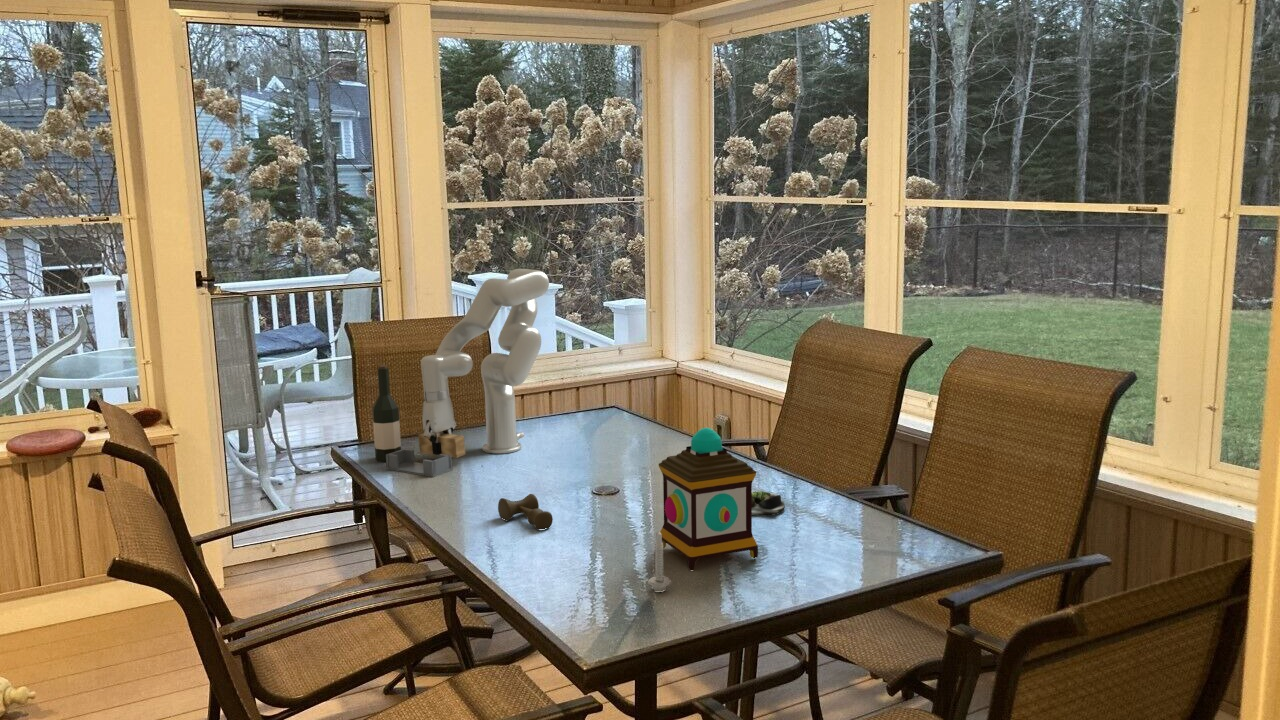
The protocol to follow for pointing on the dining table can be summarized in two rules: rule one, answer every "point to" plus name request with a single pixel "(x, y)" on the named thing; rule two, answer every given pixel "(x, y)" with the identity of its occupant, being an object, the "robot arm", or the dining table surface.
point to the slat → (444, 444)
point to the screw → (659, 567)
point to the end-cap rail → (406, 463)
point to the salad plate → (766, 503)
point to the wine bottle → (385, 419)
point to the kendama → (525, 511)
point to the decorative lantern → (707, 500)
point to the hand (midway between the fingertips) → (442, 451)
